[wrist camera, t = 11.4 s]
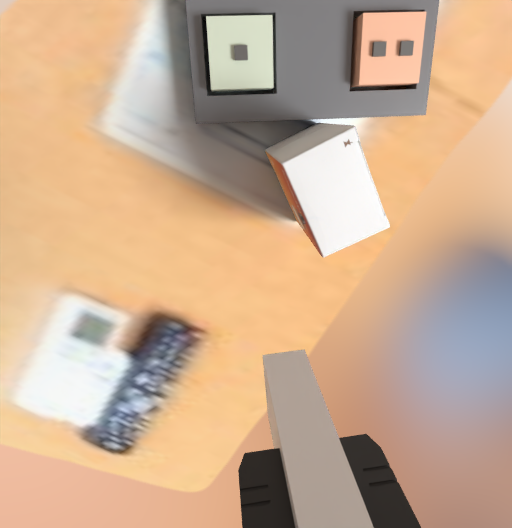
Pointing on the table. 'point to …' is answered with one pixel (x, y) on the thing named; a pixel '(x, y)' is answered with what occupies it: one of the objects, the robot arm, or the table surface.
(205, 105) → the board
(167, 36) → the table surface
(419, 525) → the robot arm
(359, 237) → the small box
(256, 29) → the pale green button
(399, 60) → the peach rectangular block
